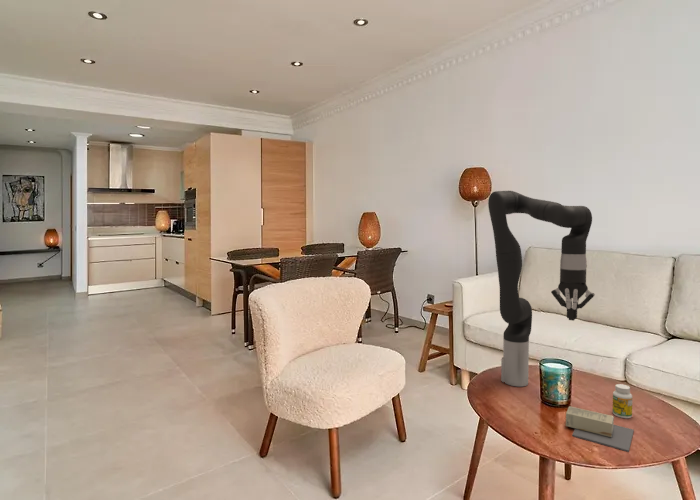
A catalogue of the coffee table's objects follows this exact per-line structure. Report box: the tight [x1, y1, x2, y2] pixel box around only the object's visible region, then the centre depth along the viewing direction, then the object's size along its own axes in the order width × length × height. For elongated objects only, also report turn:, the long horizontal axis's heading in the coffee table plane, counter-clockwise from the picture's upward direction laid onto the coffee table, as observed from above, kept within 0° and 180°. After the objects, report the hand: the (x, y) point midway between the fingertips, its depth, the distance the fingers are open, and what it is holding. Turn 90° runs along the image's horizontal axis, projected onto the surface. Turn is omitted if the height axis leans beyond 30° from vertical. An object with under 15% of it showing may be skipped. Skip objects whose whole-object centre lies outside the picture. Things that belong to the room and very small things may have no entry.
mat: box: [571, 424, 635, 453], centre depth 125 cm, size 14×14×1 cm
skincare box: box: [565, 405, 615, 437], centre depth 127 cm, size 6×4×12 cm
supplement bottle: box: [612, 383, 633, 419], centre depth 136 cm, size 5×5×10 cm
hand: (571, 319), depth 137 cm, fingers closed
